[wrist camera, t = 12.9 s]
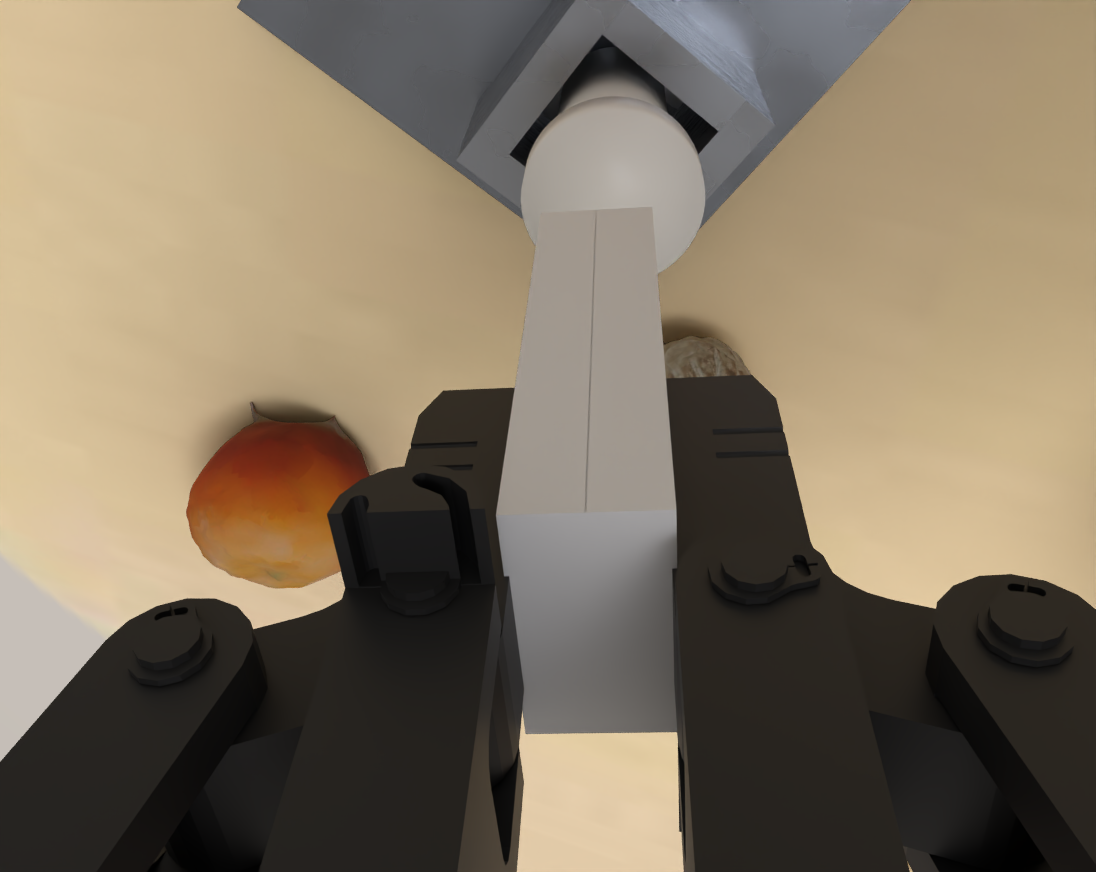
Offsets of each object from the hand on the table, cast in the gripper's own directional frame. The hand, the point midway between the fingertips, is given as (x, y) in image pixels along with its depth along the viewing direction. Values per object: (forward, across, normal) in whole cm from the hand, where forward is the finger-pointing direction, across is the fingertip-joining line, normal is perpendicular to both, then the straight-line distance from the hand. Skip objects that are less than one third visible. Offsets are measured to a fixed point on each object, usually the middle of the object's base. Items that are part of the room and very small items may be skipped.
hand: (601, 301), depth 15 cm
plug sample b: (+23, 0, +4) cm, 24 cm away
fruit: (+27, +16, +21) cm, 37 cm away
